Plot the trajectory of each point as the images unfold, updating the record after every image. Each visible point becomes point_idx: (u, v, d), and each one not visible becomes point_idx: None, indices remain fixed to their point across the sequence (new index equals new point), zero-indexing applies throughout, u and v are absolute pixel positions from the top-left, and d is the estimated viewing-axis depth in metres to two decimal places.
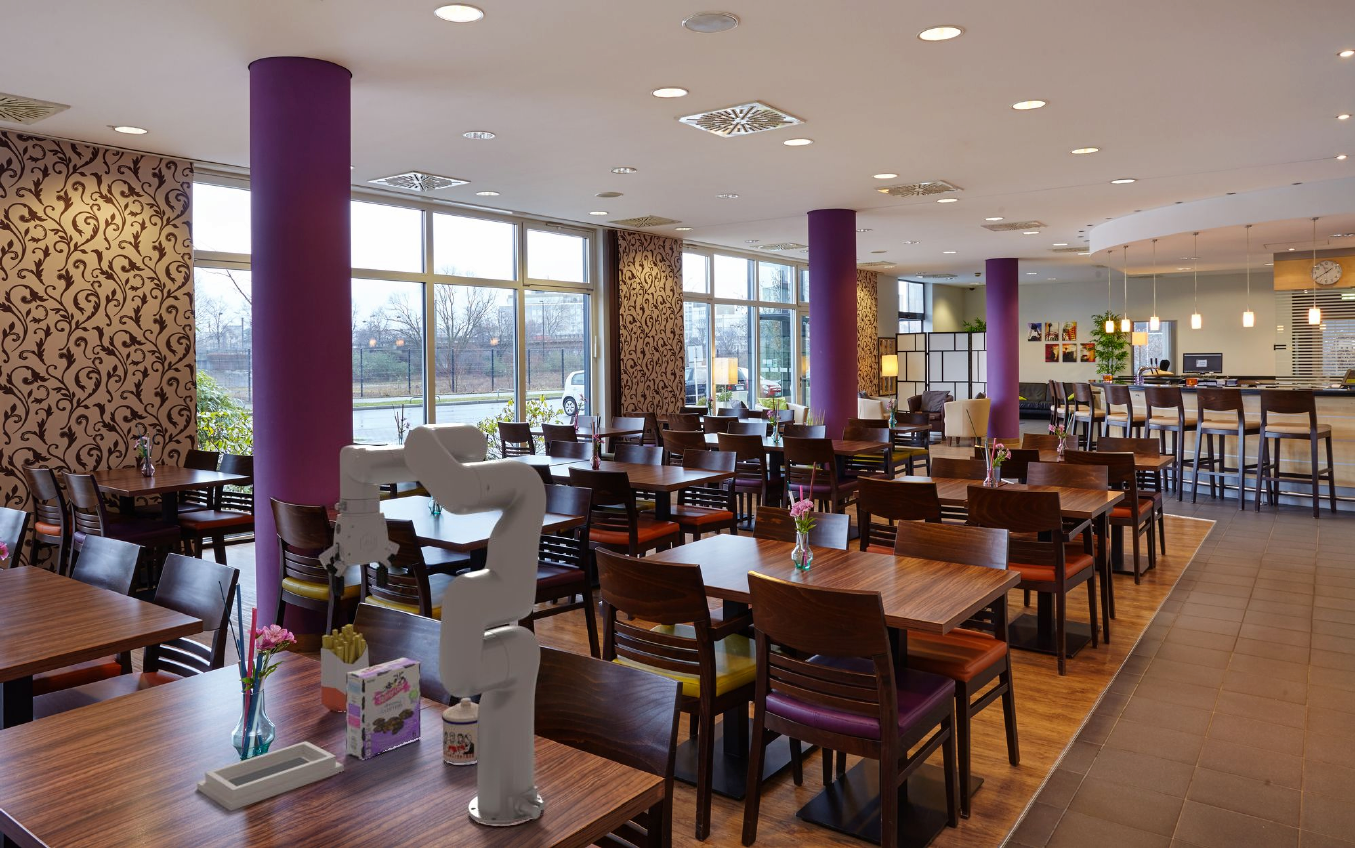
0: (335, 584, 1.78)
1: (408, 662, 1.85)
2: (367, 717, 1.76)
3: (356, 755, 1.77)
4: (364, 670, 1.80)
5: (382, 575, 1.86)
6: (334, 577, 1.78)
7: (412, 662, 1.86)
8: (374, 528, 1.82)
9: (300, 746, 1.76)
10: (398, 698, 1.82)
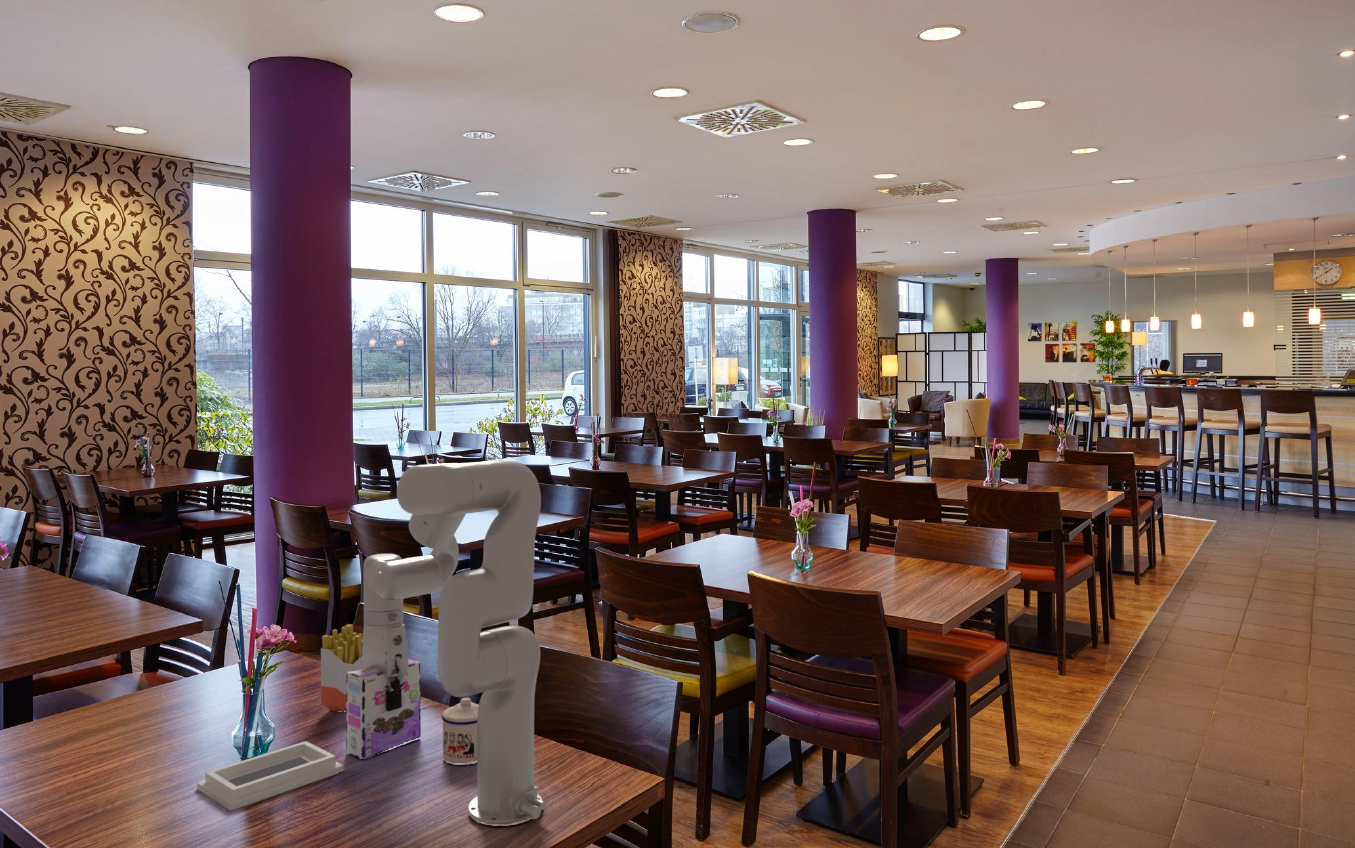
0: (398, 697, 1.80)
1: None
2: (367, 717, 1.76)
3: (356, 755, 1.77)
4: (364, 670, 1.80)
5: None
6: (397, 691, 1.80)
7: (412, 662, 1.86)
8: None
9: (300, 746, 1.76)
10: None
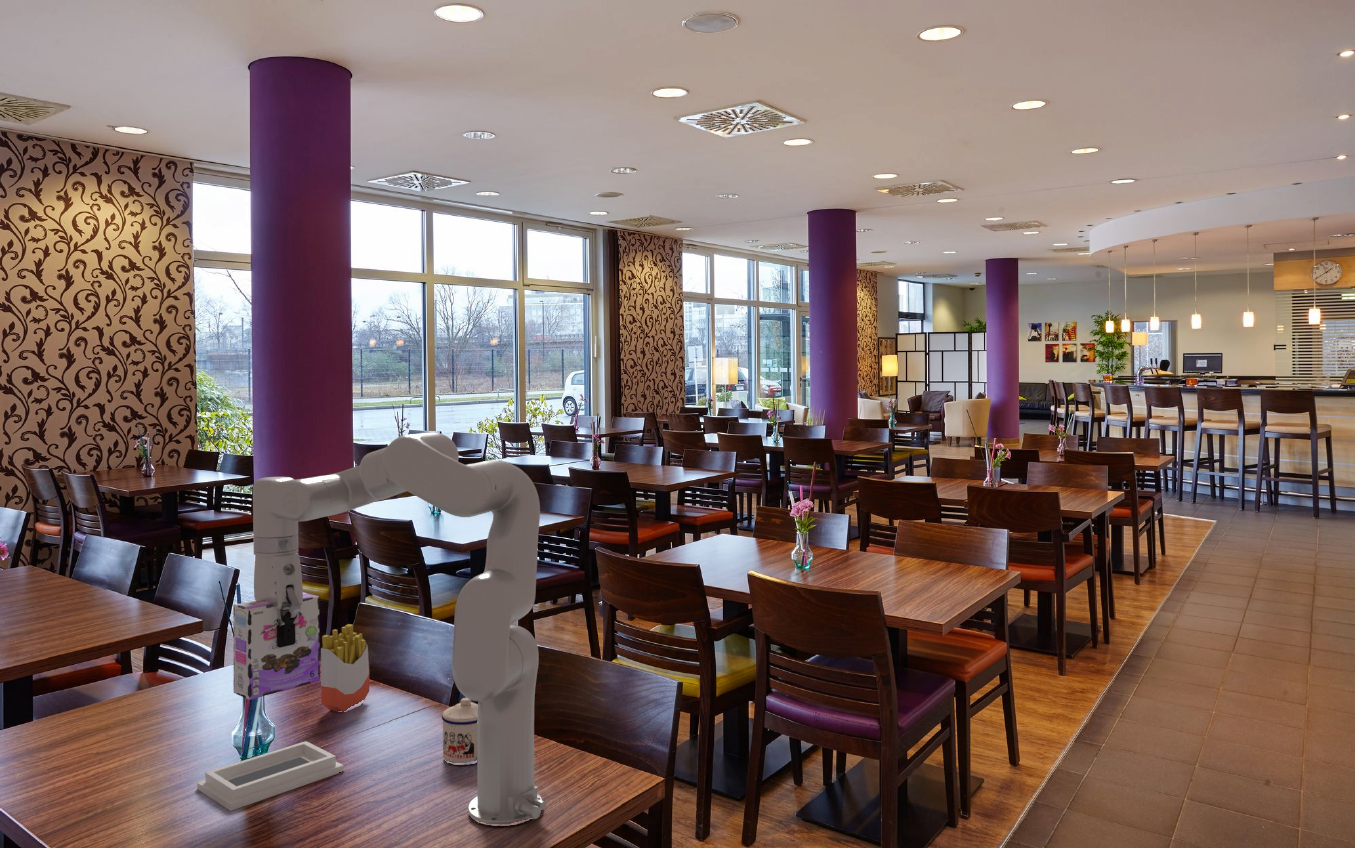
0: (291, 633, 1.64)
1: (305, 596, 1.70)
2: (254, 653, 1.61)
3: (243, 694, 1.61)
4: (253, 602, 1.64)
5: None
6: (290, 626, 1.64)
7: (310, 596, 1.70)
8: None
9: (300, 746, 1.76)
10: None
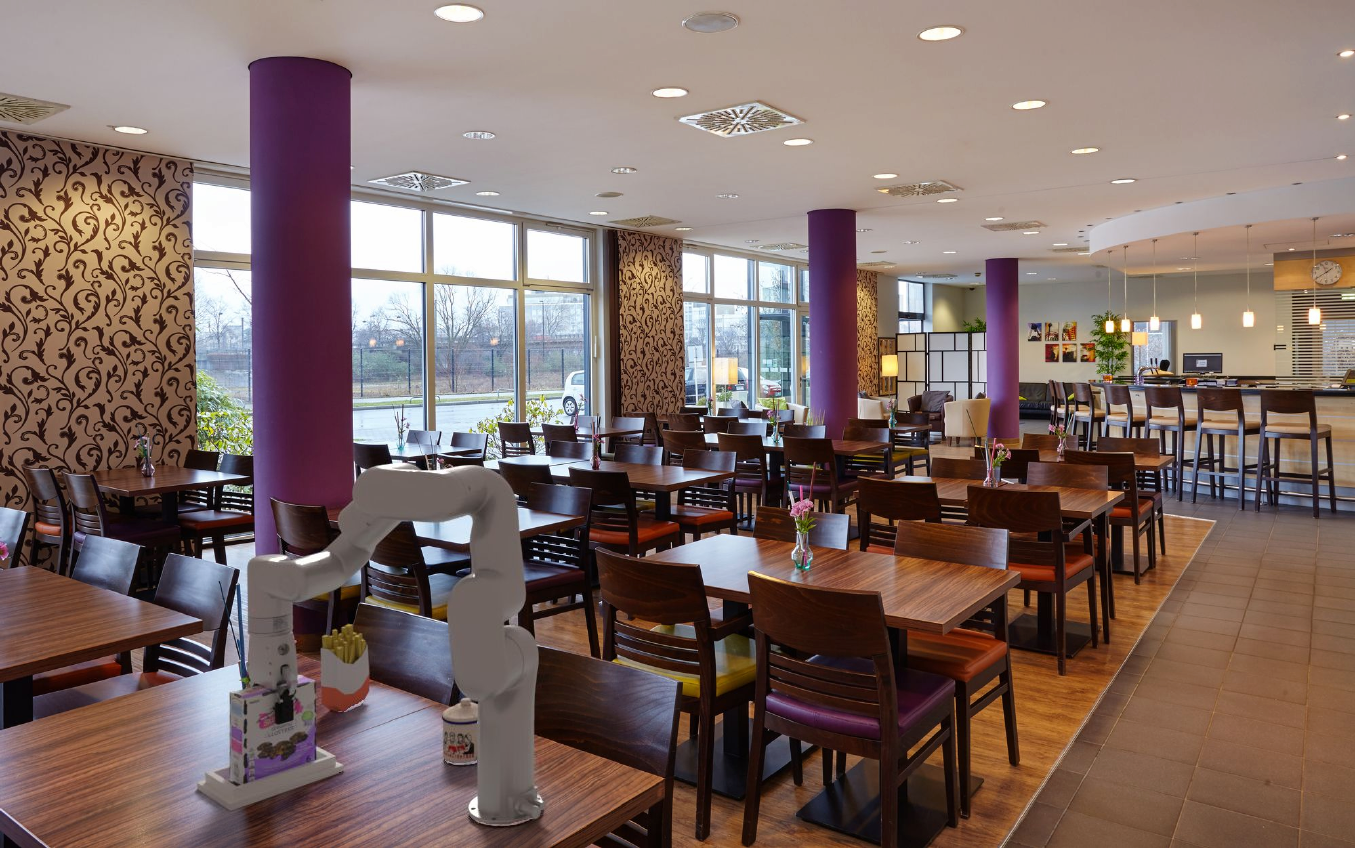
0: (289, 709, 1.63)
1: (302, 680, 1.69)
2: (249, 742, 1.60)
3: (238, 783, 1.61)
4: (250, 689, 1.64)
5: None
6: (288, 703, 1.63)
7: (307, 680, 1.69)
8: None
9: None
10: None
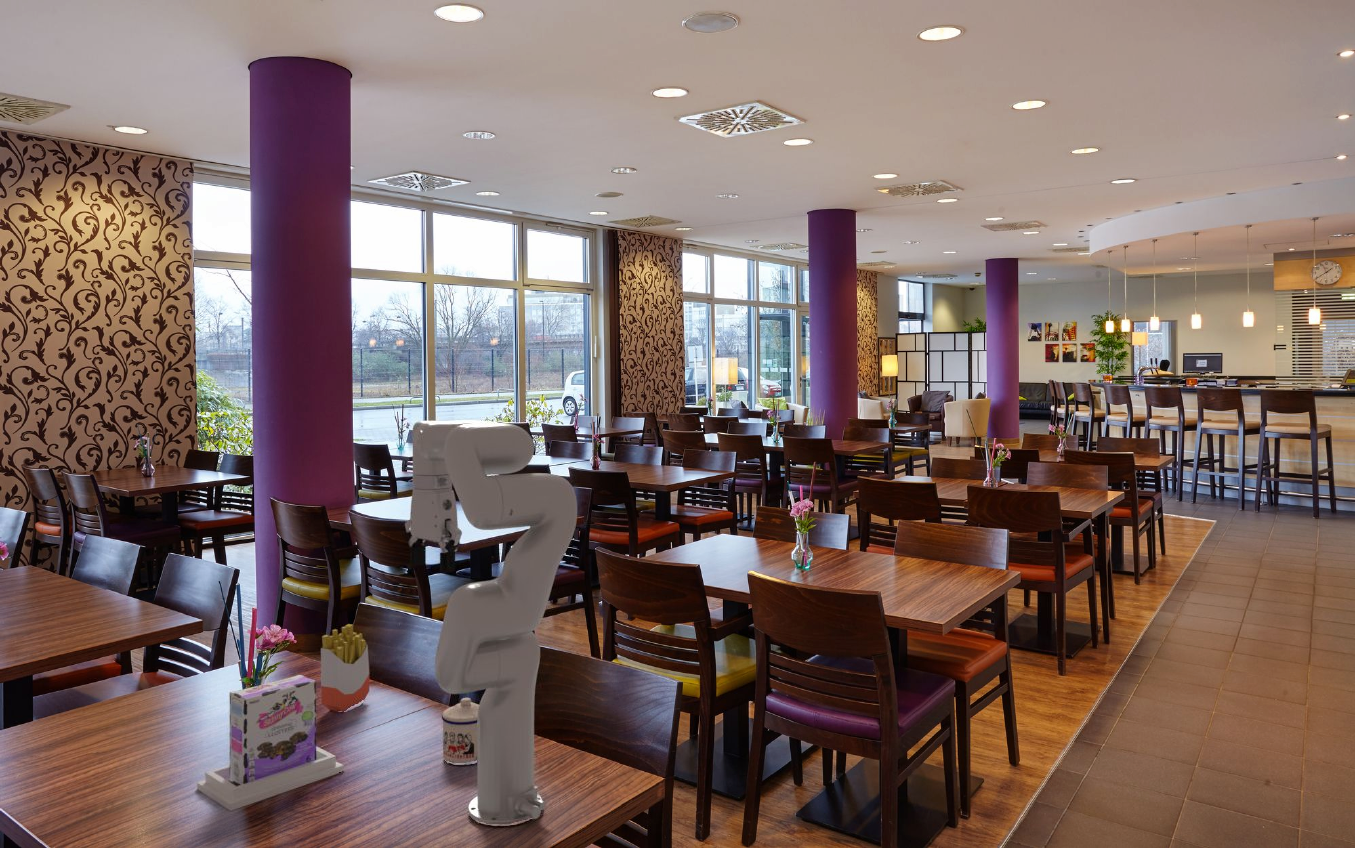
0: (452, 560, 1.77)
1: (302, 680, 1.69)
2: (249, 742, 1.60)
3: (238, 783, 1.61)
4: (250, 689, 1.64)
5: (422, 552, 1.84)
6: (451, 553, 1.77)
7: (307, 680, 1.69)
8: None
9: None
10: (289, 720, 1.66)
